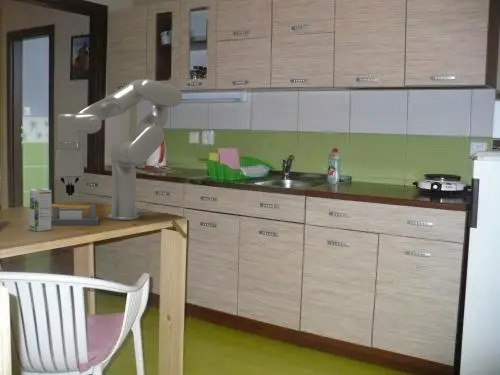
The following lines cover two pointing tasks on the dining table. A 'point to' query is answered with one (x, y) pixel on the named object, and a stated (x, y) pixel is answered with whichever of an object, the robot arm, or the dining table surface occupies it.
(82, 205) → the yellow long flat bar
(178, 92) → the robot arm
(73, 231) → the dining table surface
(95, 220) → the base
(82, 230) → the dining table surface
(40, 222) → the syrup box
